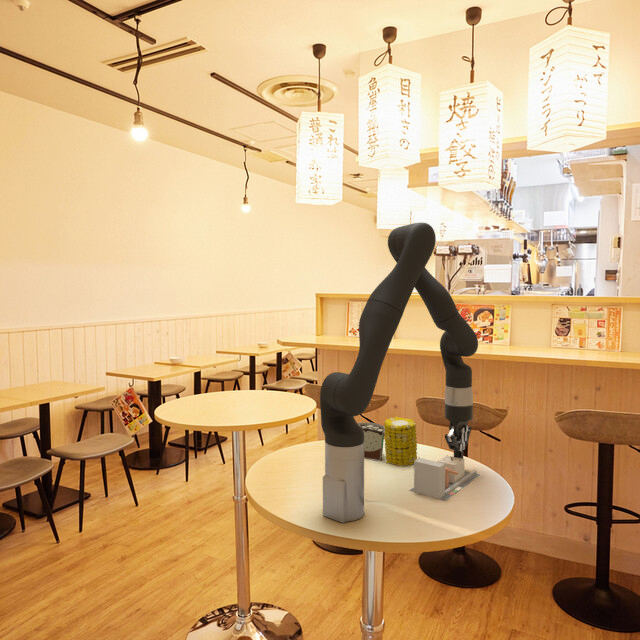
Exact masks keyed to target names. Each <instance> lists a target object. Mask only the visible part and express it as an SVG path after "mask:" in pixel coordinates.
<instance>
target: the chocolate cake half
mask: <svg viewBox="0 0 640 640" xmlns="http://www.w3.org/2000/svg"><path fill="white" fill-rule="evenodd" d="M357 423H358V425H359V426H360V427H361V428H362V429H363V431H364V459H366V460H372V461H378V462H381V461H382V459H383V452H384V451H383V450H384V443H385V428H384V426H385V425H382V424H379V423H377V422H376V423H375V422H357Z"/></svg>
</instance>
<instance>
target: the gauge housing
mask: <svg viewBox="0 0 640 640" xmlns="http://www.w3.org/2000/svg"><path fill="white" fill-rule="evenodd" d="M436 462H440V463H444V464H445V467H446V468H449V470H452V471H456V472H458V475H455V474H451V473H449V482H450V483H453V484H455V483H456V482H458V481H459V480H460V479H462V478H463V477H464V471H465V458H463V459H461V458H457V457H454V456H451V455H445V456H444V457H442V458H441V459H438V460H437V461H436Z"/></svg>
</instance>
